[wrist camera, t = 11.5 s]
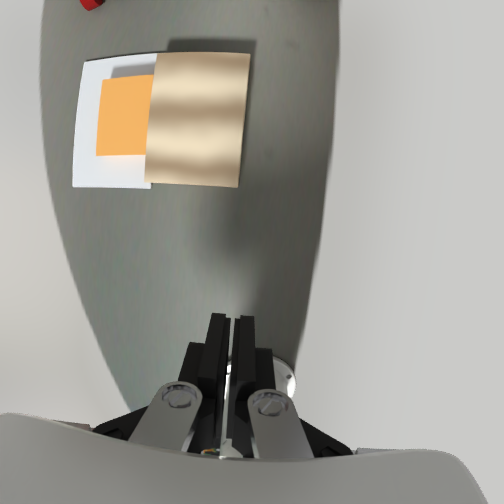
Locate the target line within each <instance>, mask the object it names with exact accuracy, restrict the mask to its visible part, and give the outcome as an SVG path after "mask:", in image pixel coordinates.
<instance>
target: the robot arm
mask: <svg viewBox="0 0 504 504" xmlns="http://www.w3.org/2000/svg"><path fill="white" fill-rule="evenodd" d="M230 322H231V318H226V314H220V313H212V315H211V320H210V324H209V328H208V332H207V337H206V341H205V344H204V343H195V342H190V343H189V345H188V348H187V351H186V355H185V358H184V361H183V365H182V368H181V371H180V375H179V378H178V381H176V382H170V383H167V384H165V385H163V386H162V387H161V388H160V389H159V390H158V392H157V393H156V395H155V396H154V398H153V400H152V401H151V403H150V405H149V406H146V407H144V408H141V409H139V410H136V411H134V412H131V413H129V414H126V415H123V416H121V417H118V418H116V419H113V420H110V421H107V422H105V423H102V424H100V425H98V426H97V427H96V428H90V425H89V424H79V423H71V422H63V421H56V420H50V419H46V418H42V417H38V416H34V415H28V414H21V413H0V504H488V502H487V500H486V499H485V497H484V495H483V493H482V491H481V489H480V487H479V485H478V484H477V482H476V480H475V479H474V477H473V476H472V474H471V473H470V471H469V470H468V469H467V467H466V466H465V465H464V464H463V463H462V462H461V461H460V460H459V459H458V458H457V457H456V456H454V455H452V454H449V453H446V452H442V451H437V450H427V449H405V450H396V449H395V450H394V449H393V450H392V449H368V448H357V450H356V451H353V450H350V448H348V447H347V446H346V445H344V444H343V443H341V442H339V441H337V440H336V439H334V438H332V437H330V436H329V435H327V434H325V433H323V432H321V431H320V430H318V429H316V428H315V427H313V426H312V425H310V424H308V423H307V422H305V421H303V420H302V419H300V418H299V417H298V414H297V412H296V409H295V406H294V404H293V402H292V400H291V398H292V396H293V395H294V392H295V390H296V378H295V375H294V372H293V370H292V369H291V367H290V366H289V365H288V364H287V363H285V362H284V361H282V360H281V359H279V358H276V357H274V356H273V355H272V349H266V348H255V329H254V316H243V315H241V317H240V319H237V318H235V324H234V336H233V347H232V359H231V361H229V362H228V352H229V337H230ZM215 438H221V445H220V456H214V455H204V454H203V453H204V450H205V449H207V448H209V447H210V446H212V445H214V446H215Z"/></svg>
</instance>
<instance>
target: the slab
mask: <svg viewBox="0 0 504 504" xmlns="http://www.w3.org/2000/svg"><path fill="white" fill-rule="evenodd" d="M153 78H154V74H152V75H139V76H129V77H120V78H112V79H104V80H102V87H101V95H100V104H99V114H98V126H97V141H96V156H114V155H146V142H147V130H148V119H149V110H150V101H151V93H152V85H153Z"/></svg>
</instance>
